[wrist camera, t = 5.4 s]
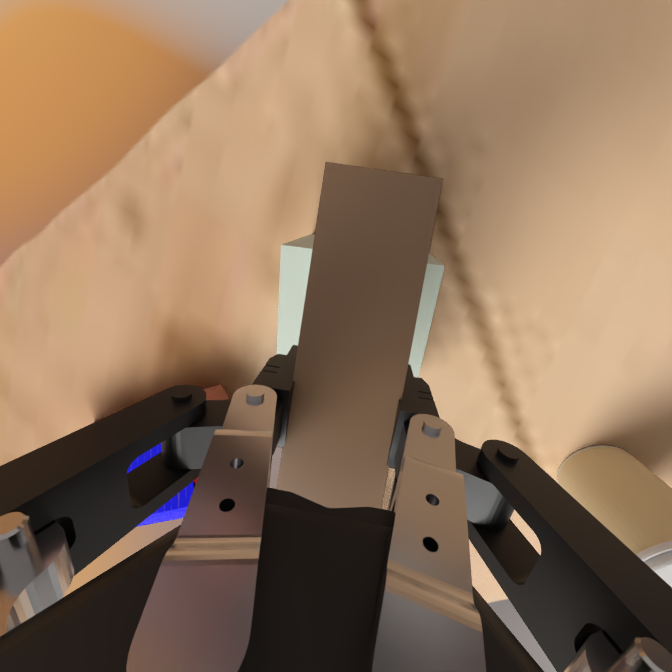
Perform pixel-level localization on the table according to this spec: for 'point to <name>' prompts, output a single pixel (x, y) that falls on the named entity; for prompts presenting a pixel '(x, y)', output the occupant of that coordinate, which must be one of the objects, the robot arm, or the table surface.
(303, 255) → the stand
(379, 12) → the table surface
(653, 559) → the coffee cup
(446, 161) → the table surface
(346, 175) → the long beige cuboid
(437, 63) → the table surface
